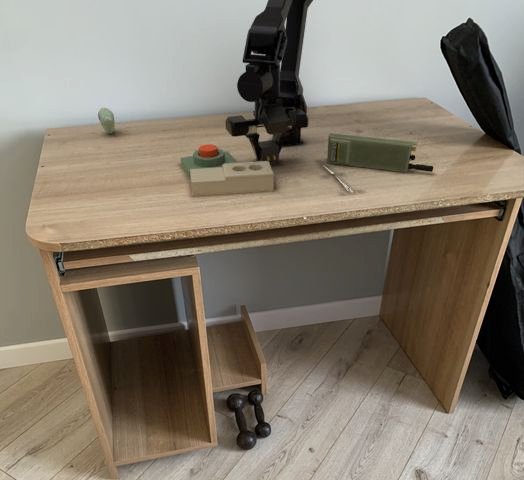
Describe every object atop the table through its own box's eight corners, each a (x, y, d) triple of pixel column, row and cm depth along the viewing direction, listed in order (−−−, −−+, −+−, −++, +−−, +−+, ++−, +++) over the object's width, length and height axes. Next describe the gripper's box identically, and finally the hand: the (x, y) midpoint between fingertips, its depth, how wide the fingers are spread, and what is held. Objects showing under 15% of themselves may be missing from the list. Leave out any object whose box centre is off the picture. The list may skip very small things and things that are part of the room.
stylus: (327, 156, 124) (360, 188, 111) (327, 160, 125) (359, 192, 111) (311, 158, 123) (342, 191, 110) (311, 163, 124) (342, 195, 111)
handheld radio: (329, 158, 126) (432, 171, 119) (325, 164, 123) (431, 177, 117) (331, 131, 121) (438, 142, 115) (327, 136, 119) (437, 148, 112)
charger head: (272, 158, 126) (272, 139, 123) (280, 167, 122) (280, 147, 119) (255, 161, 125) (255, 142, 122) (263, 169, 121) (263, 150, 118)
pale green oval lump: (117, 137, 138) (112, 111, 133) (102, 139, 137) (96, 113, 133) (116, 128, 144) (111, 102, 139) (101, 129, 143) (96, 104, 139)
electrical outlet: (189, 165, 113) (269, 160, 115) (191, 182, 116) (269, 177, 118) (190, 178, 108) (274, 172, 110) (192, 196, 111) (273, 190, 112)
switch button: (215, 150, 122) (214, 143, 121) (220, 157, 119) (219, 149, 118) (197, 153, 121) (196, 145, 120) (202, 159, 118) (201, 152, 117)
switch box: (228, 157, 127) (227, 143, 124) (239, 171, 120) (238, 156, 118) (181, 164, 124) (179, 150, 121) (189, 178, 117) (188, 164, 115)
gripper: (237, 104, 105) (240, 177, 115) (320, 94, 109) (315, 165, 120) (222, 89, 113) (226, 159, 123) (300, 81, 117) (297, 149, 128)
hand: (267, 158), depth 123 cm, fingers closed on charger head, 4 cm apart
